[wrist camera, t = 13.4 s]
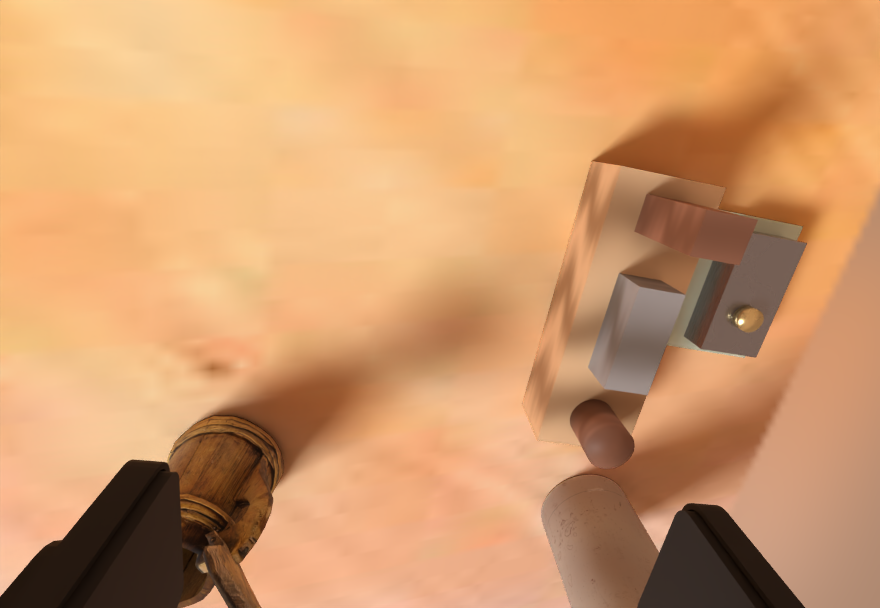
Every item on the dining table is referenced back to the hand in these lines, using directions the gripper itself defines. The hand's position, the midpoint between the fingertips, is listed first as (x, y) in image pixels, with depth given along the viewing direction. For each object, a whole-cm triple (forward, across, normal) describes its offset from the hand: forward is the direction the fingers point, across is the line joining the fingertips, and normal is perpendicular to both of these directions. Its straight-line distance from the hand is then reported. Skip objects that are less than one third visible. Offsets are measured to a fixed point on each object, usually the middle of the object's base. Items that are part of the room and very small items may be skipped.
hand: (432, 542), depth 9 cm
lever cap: (+27, -25, +1) cm, 36 cm away
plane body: (+27, -15, +4) cm, 31 cm away
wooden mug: (+27, +11, +20) cm, 36 cm away
